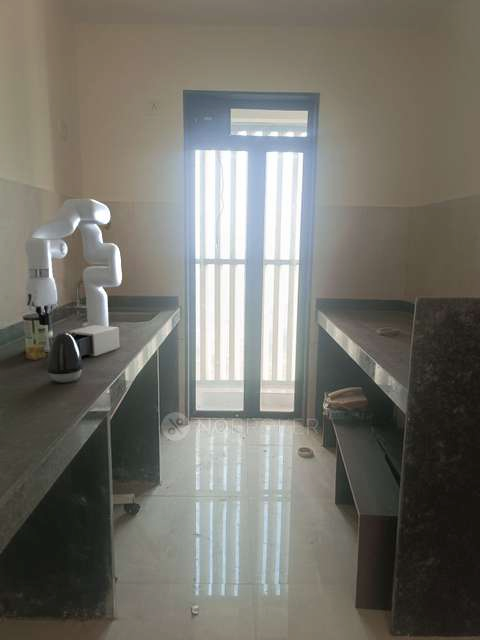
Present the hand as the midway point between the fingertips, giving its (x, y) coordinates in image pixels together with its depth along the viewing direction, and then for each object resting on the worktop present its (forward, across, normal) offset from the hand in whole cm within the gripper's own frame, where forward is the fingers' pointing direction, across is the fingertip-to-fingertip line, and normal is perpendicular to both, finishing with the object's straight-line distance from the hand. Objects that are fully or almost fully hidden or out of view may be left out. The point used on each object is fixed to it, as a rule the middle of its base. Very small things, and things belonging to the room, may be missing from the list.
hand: (44, 324), depth 150 cm
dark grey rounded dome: (+13, +14, +25) cm, 32 cm away
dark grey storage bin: (+12, -6, +6) cm, 15 cm away
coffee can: (+13, -8, -14) cm, 21 cm away
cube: (+13, 0, -6) cm, 14 cm away
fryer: (+13, -18, +6) cm, 23 cm away
